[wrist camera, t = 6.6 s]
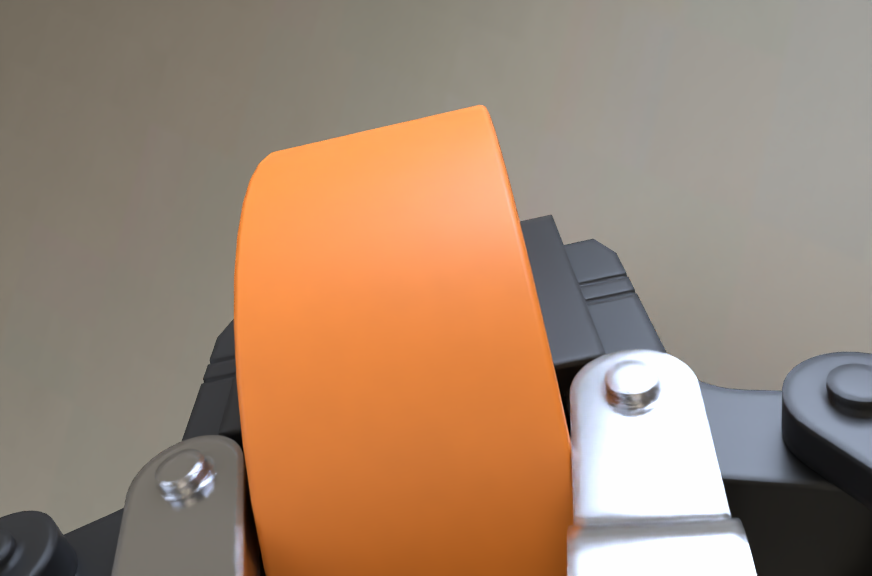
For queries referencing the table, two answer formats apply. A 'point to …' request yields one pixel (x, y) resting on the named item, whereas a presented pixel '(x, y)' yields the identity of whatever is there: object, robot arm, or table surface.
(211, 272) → the table surface
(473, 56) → the table surface
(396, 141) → the disc
